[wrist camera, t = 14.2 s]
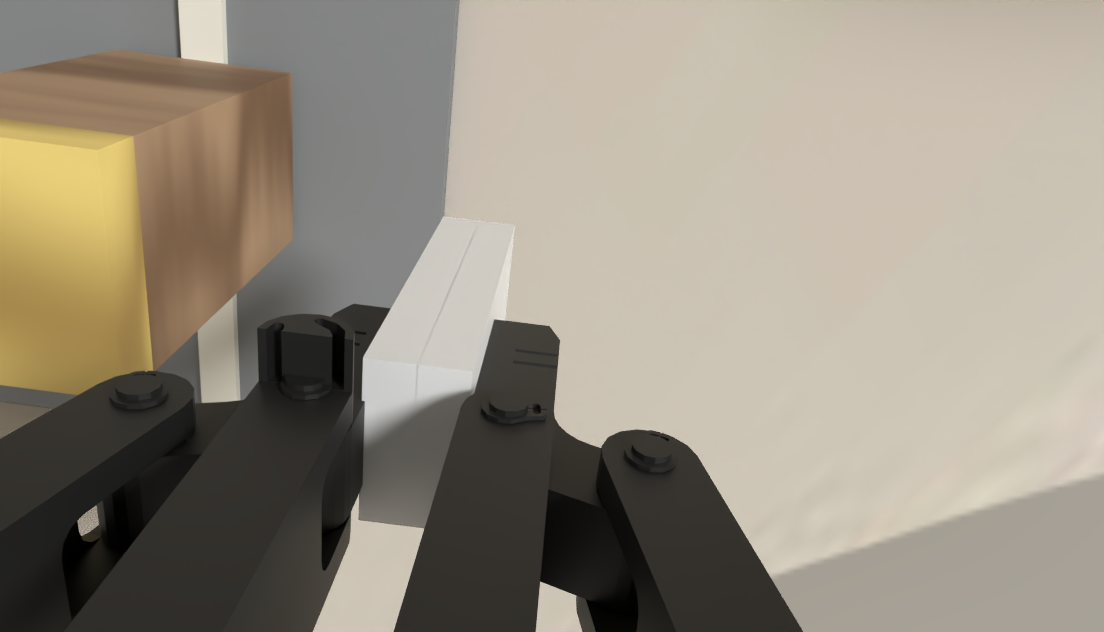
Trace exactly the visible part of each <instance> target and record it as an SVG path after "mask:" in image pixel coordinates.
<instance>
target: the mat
mask: <svg viewBox="0 0 1104 632" xmlns="http://www.w3.org/2000/svg"><path fill="white" fill-rule="evenodd" d="M458 11H459V0H0V73H2V72H7V71H12V70H17V69H22V68H27V67H32V66H37V65H42V64H47V63H52V62H57V61H61V60H66V59H71V58H76V57H81V56H86V55H91V54H96V53H101V52H106V51H111V50H116V49H118V50H125V51H133V52H140V53H148V54H155V55H163V56H170V57H178V58H185V59H192V60H200V61H207V62H215V63H222V64H230V65H237V66H245V67H252V68H260V69H267V70H275V71H282V72H290V73H292V120H293V240H292V241H291V242H290V243H289V244H288V245H287V246H286V247H285V248H284V249H283V250H282V251H280V252H279V253H278V254H277V255H276V256H275V257H274V258H273V259H272V260H271V261H270V262H269V263H268V264H267V265H266V266H265V267H264V268H263V269H262V270H261V271H259V272H258V273H257V274H256V275H255V276H254V277H253V278H252V279H251V280H250V281H249V282H248V283H247V284H246V285H245V286H244V287H243V288H242V289H241V290H240V291H238V292H237V293H236V294H235V295H234V296H233V297H232V298H231V299H230V300H229V301H228V302H227V303H226V304H225V305H224V306H223V307H222V308H221V309H220V310H219V311H217V312H216V313H215V314H214V315H213V316H212V317H211V318H210V319H209V320H208V321H207V322H206V323H205V324H204V325H203V326H202V327H201V328H200V329H199V330H198V331H196V332H195V333H194V334H193V335H192V336H191V337H190V338H189V339H188V340H187V341H186V342H185V343H184V344H183V345H182V346H181V347H180V348H179V349H178V350H177V351H176V352H174V353H173V354H172V355H171V356H170V357H169V358H168V359H167V360H166V361H165V362H164V363H163V364H162V365H161V366H160V367H159V368H158V369H157V370H156V371H159V372H164V373H171V374H175V375H178V376H180V377H182V378H185V379H187V380H188V381H189V382H190V384H191V385H192V386H193V387H194V394H195V403H211V402H229V401H238V400H244V399H245V398H246V397H247V395H248V394H249V393H250V392H251V390H252V389H253V388H254V386H255V385H256V384H257V383H258V381H259V374H258V342H257V328H258V327H259V326H260V325H262V324H263V323H265V322H266V321H268V320H271V319H274V318H278V317H281V316H285V315H294V314H320V315H325V316H330V317H331V316H332V315H333V314H334V313H336V312H338V311H340V310H342V309H344V308H346V307H348V306H350V305H352V304H361V305H369V306H376V307H384V308H392V306H393V304H394V302H395V301H396V299H397V297H398V295H399V294H400V292H401V290H402V288H403V287H404V285H405V283H406V281H407V280H408V278H409V276H410V274H411V273H412V271H413V269H414V267H415V266H416V264H417V262H418V260H419V259H420V257H421V255H422V253H423V252H424V250H425V248H426V246H427V245H428V243H429V241H430V239H431V238H432V236H433V234H434V232H435V231H436V229H437V227H438V225H439V224H440V222H441V220H442V218H443V217H444V207H445V193H446V179H447V165H448V151H449V137H450V123H451V109H452V95H453V81H454V67H455V53H456V39H457V25H458ZM76 396H77V395H74V394H66V393H59V392H51V391H43V390H36V389H28V388H20V387H13V386H5V385H0V402H7V403H15V404H23V405H30V406H38V407H46V408H53V409H54V408H56V407H58V406H60V405H61V404H63V403H65V402H67V401H68V400H70V399H72V398H74V397H76Z"/></svg>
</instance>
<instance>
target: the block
mask: <svg viewBox="0 0 1104 632" xmlns="http://www.w3.org/2000/svg"><path fill="white" fill-rule="evenodd" d="M292 240H293V120H292V73H290V72H282V71H275V70H267V69H260V68H252V67H245V66H237V65H230V64H222V63H215V62H207V61H200V60H192V59H185V58H178V57H170V56H163V55H155V54H148V53H140V52H133V51H125V50H118V49H116V50H111V51H106V52H101V53H96V54H91V55H86V56H81V57H76V58H71V59H66V60H61V61H57V62H52V63H47V64H42V65H37V66H32V67H27V68H22V69H17V70H12V71H7V72H2V73H0V385H5V386H13V387H20V388H28V389H36V390H43V391H51V392H59V393H66V394H74V395H79V394H81V393H83V392H84V391H86V390H88V389H90V388H91V387H93V386H95V385H97V384H99V383H101V382H103V381H106V380H108V379H111V378H113V377H115V376H120V375H125V374H130V373H132V372H135V371H145V372H147V371H156V370H157V369H158V368H159V367H160V366H161V365H162V364H163V363H164V362H165V361H166V360H167V359H168V358H169V357H170V356H171V355H172V354H173V353H174V352H176V351H177V350H178V349H179V348H180V347H181V346H182V345H183V344H184V343H185V342H186V341H187V340H188V339H189V338H190V337H191V336H192V335H193V334H194V333H195V332H196V331H198V330H199V329H200V328H201V327H202V326H203V325H204V324H205V323H206V322H207V321H208V320H209V319H210V318H211V317H212V316H213V315H214V314H215V313H216V312H217V311H219V310H220V309H221V308H222V307H223V306H224V305H225V304H226V303H227V302H228V301H229V300H230V299H231V298H232V297H233V296H234V295H235V294H236V293H237V292H238V291H240V290H241V289H242V288H243V287H244V286H245V285H246V284H247V283H248V282H249V281H250V280H251V279H252V278H253V277H254V276H255V275H256V274H257V273H258V272H259V271H261V270H262V269H263V268H264V267H265V266H266V265H267V264H268V263H269V262H270V261H271V260H272V259H273V258H274V257H275V256H276V255H277V254H278V253H279V252H280V251H282V250H283V249H284V248H285V247H286V246H287V245H288V244H289V243H290V242H291V241H292Z"/></svg>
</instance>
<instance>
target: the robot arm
mask: <svg viewBox="0 0 1104 632" xmlns="http://www.w3.org/2000/svg"><path fill="white" fill-rule="evenodd" d="M514 230H515V225H510V224H502V223H494V222H486V221H478V220H470V219H463V218H455V217H447V216H444V217H443V218H442V220H441V222H440V224H439V225H438V227H437V229H436V231H435V232H434V234H433V236H432V238H431V239H430V241H429V243H428V245H427V246H426V248H425V250H424V252H423V253H422V255H421V257H420V259H419V260H418V262H417V264H416V266H415V267H414V269H413V271H412V273H411V274H410V276H409V278H408V280H407V281H406V283H405V285H404V287H403V288H402V290H401V292H400V294H399V295H398V297H397V299H396V301H395V302H394V304H393V306H392V308H384V307H376V306H369V305H361V304H352V305H350V306H348V307H346V308H344V309H342V310H340V311H338V312H336V313H334V314H333V315H332V316H331V317H330V316H325V315H320V314H294V315H285V316H281V317H278V318H274V319H271V320H268V321H266V322H265V323H263V324H262V325H260V326H259V327H258V328H257V342H258V374H259V381H258V383H257V384H256V385H255V386H254V388H253V389H252V390H251V392H250V393H249V394H248V395H247V397H246V398H245V399H244V400H238V401H229V402H211V403H195V394H194V387H193V386H192V385H191V384H190V382H189V381H188V380H187V379H185V378H182V377H180V376H178V375H175V374H171V373H164V372H159V371H147V372H145V371H135V372H132V373H130V374H125V375H120V376H115V377H113V378H111V379H108V380H106V381H103V382H101V383H99V384H97V385H95V386H93V387H91V388H90V389H88V390H86V391H84V392H83V393H81V394H79V395H77V396H76V397H74V398H72V399H70V400H68V401H67V402H65V403H63V404H61V405H60V406H58V407H56V408H54V409H53V410H51V411H49V412H47V413H46V414H44V415H42V416H40V417H38V418H37V419H35V420H33V421H31V422H30V423H28V424H26V425H24V426H23V427H21V428H19V429H17V430H15V431H14V432H12V433H10V434H8V435H7V436H5V437H3V438H1V439H0V632H313V629H314V627H315V625H316V622H317V620H318V617H319V615H320V612H321V610H322V608H323V605H324V603H325V600H326V598H327V595H328V593H329V591H330V588H331V586H332V583H333V581H334V578H335V576H336V573H337V571H338V569H339V566H340V564H341V561H342V559H343V556H344V554H345V552H346V549H347V547H348V544H349V540H350V528H351V510H352V508H353V506H354V504H355V501H356V499H357V497H358V494H359V520H363V521H371V522H379V523H387V524H395V525H403V526H411V527H419V528H425V529H424V532H423V535H422V539H421V542H420V546H419V549H418V552H417V556H416V559H415V562H414V566H413V569H412V572H411V576H410V579H409V582H408V586H407V589H406V592H405V596H404V599H403V602H402V606H401V609H400V612H399V616H398V619H397V623H396V626H395V629H394V632H535V631H536V620H537V609H538V598H539V587H540V581H541V582H543V583H546V584H548V585H551V586H553V587H556V588H559V589H561V590H564V591H566V592H569V593H571V594H574V595H577V597H576V607H577V614H578V618H579V621H580V625H581V628H582V631H583V632H803V631H802V629H801V627H800V626H799V624H798V623H797V621H796V619H795V618H794V616H793V614H792V612H791V611H790V609H789V607H788V606H787V604H786V602H785V601H784V599H783V598H782V596H781V594H780V593H779V591H778V589H777V588H776V586H775V584H774V583H773V581H772V579H771V578H770V576H769V574H768V573H767V571H766V569H765V568H764V566H763V564H762V563H761V561H760V559H759V558H758V556H757V554H756V553H755V551H754V549H753V548H752V546H751V544H750V543H749V541H748V539H747V538H746V536H745V534H744V533H743V531H742V529H741V528H740V526H739V524H738V523H737V521H736V519H735V518H734V516H733V514H732V513H731V511H730V509H729V508H728V506H727V505H726V503H725V501H724V500H723V498H722V496H721V495H720V493H719V491H718V490H717V488H716V486H715V485H714V483H713V481H712V480H711V478H710V476H709V475H708V473H707V471H706V470H705V468H704V466H703V465H702V463H701V461H700V460H699V458H698V456H697V455H696V454H695V453H694V452H693V451H692V450H691V449H690V448H689V447H688V446H687V445H686V444H684V443H682V442H680V441H679V440H677V439H675V438H674V437H671V436H669V435H666V434H664V433H662V434H661V433H660V432H656V431H651V430H649V431H646V430H629V431H621V432H618V433H616V434H614V435H612V436H610V437H608V438H607V440H606V441H605V442H604V444H603V445H602V448H599V447H595V446H592V445H590V444H587V443H585V442H582V441H580V440H577V439H576V438H574V437H573V436H571V435H569V434H568V433H566V432H565V431H564V430H563V429H562V428H561V427H560V426H559V425H558V423H557V421H556V420H555V417H554V402H555V390H556V379H557V367H558V356H559V345H560V340H559V338H558V337H557V336H556V334H555V333H554V332H553V330H552V329H551V328H550V326H543V325H535V324H528V323H520V322H512V321H505V317H506V308H507V298H508V288H509V279H510V269H511V259H512V250H513V240H514ZM96 505H97V512H98V519H99V525H98V526H97V527H96V528H94V529H93V530H92V531H91V532H89V533H87V534H85V535H83V536H81V535H80V533H79V530H78V523H77V520H78V519H79V518H80V517H81V516H82V515H83V514H85V513H86V512H87V511H89V510H90V509H91V508H93V507H94V506H96Z"/></svg>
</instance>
